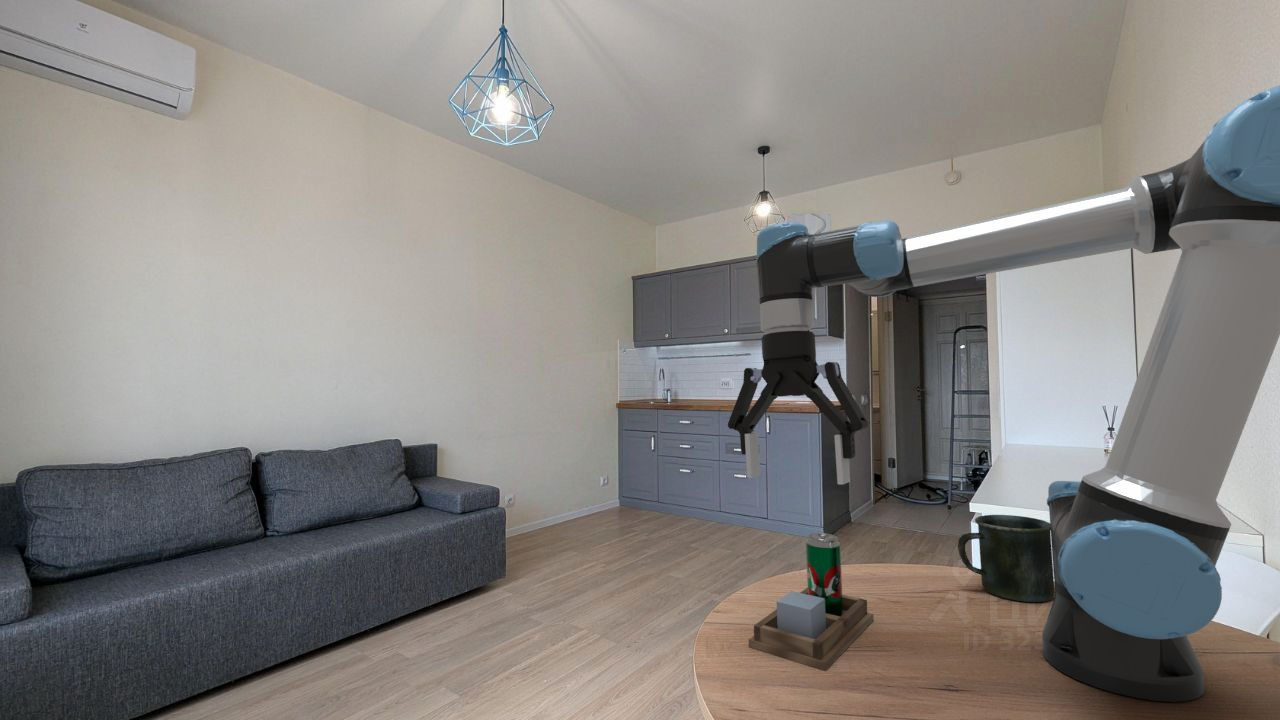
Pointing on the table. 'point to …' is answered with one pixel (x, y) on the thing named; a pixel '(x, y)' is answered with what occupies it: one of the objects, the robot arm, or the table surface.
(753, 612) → the table surface
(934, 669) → the table surface
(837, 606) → the soda can
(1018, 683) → the table surface
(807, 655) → the caddy
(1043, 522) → the mug
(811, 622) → the block
